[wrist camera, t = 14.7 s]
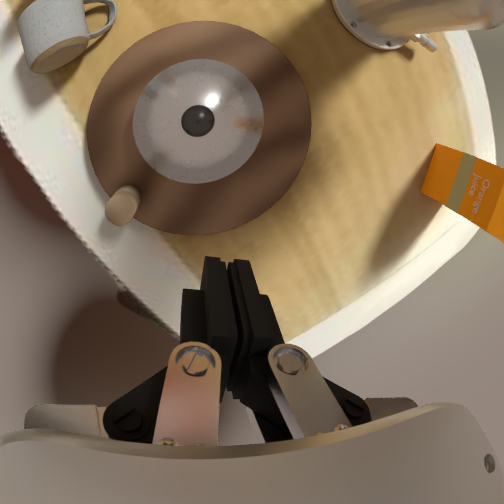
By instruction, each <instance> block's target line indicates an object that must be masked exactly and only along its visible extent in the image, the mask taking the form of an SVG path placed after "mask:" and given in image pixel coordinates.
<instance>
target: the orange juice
mask: <svg viewBox="0 0 504 504" xmlns="http://www.w3.org/2000/svg"><path fill="white" fill-rule="evenodd" d="M420 192H422V193H423V194H425V195H427V196H429V197H431V198H433V199H434V200H436V201H438V202H440V203H441V204H443V205H445V206H446V207H448V208H450V209H451V210H453V211H455V212H456V213H458V214H460V215H462V216H463V217H465V218H466V219H467V220H470V221H471V222H473V223H474V224H476V225H477V226H479V227H480V228H482V229H483V230H485V231H486V232H488V233H490V234H491V235H493V236H495V237H496V238H498V239H499V240H501V241H502V242H503V243H504V169H503V168H500V167H498V166H496V165H494V164H491V163H489V162H487V161H484V160H482V159H479V158H477V157H475V156H472V155H470V154H467V153H464V152H461V151H458V150H455V149H452V148H449V147H446V146H443V145H440V144H437V143H436V146H435V150H434V153H433V156H432V159H431V162H430V165H429V168H428V171H427V174H426V177H425V180H424V182H423V185H422V188H421V191H420Z"/></svg>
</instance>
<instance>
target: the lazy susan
mask: <svg viewBox="0 0 504 504" xmlns="http://www.w3.org/2000/svg"><path fill="white" fill-rule="evenodd" d="M193 59H209V60H216V61H219V62H223V63H225V64H228V65H230V66H232V67H234V68H236V69H237V70H239V71H240V72H241V73H243V74H244V75H245V76H246V77H247V78H248V79H249V80H250V81H251V83H252V84H253V85H254V87H255V88H256V90H257V92H258V94H259V97H260V99H261V102H262V107H263V114H264V123H263V130H262V135H261V138H260V140H259V143H258V145H257V147H256V149H255V151H254V152H253V154H252V155H251V156H250V158H249V159H248V160H247V161H246V162H245V163H244V164H243V165H242V166H241V167H240V168H239V169H237V170H236V171H234V172H233V173H231V174H229V175H228V176H226V177H224V178H221V179H219V180H216V181H212V182H207V183H197V184H191V183H183V182H178V181H175V180H172V179H169V178H167V177H165V176H163V175H161V174H160V173H158V172H157V171H156V170H154V169H153V168H152V167H151V166H150V165H149V164H148V163H147V162H146V161H145V159H144V158H143V156H142V155H141V153H140V152H139V149H138V147H137V145H136V142H135V138H134V133H133V116H134V110H135V107H136V103H137V101H138V99H139V97H140V95H141V93H142V91H143V90H144V88H145V87H146V86H147V84H148V83H149V82H150V81H151V80H152V79H153V78H154V77H155V76H156V75H157V74H159V73H160V72H161V71H163V70H165V69H166V68H168V67H170V66H172V65H174V64H177V63H179V62H183V61H187V60H193ZM310 136H311V111H310V105H309V100H308V96H307V93H306V90H305V87H304V85H303V82H302V80H301V78H300V76H299V74H298V73H297V71H296V69H295V68H294V66H293V65H292V64H291V62H290V61H289V60H288V58H287V57H286V56H285V55H284V54H283V53H282V52H281V51H280V50H279V49H278V48H277V47H275V46H274V45H273V44H272V43H270V42H269V41H268V40H266V39H265V38H263V37H261V36H259V35H258V34H256V33H254V32H252V31H250V30H247V29H245V28H242V27H240V26H236V25H232V24H228V23H223V22H214V21H193V22H186V23H180V24H176V25H172V26H169V27H166V28H162V29H160V30H158V31H156V32H153V33H151V34H149V35H147V36H146V37H144V38H142V39H141V40H139V41H137V42H136V43H134V44H133V45H132V46H131V47H129V48H128V49H127V50H126V51H125V52H123V53H122V54H121V55H120V56H119V57H118V59H117V60H116V61H115V62H114V63H113V64H112V65H111V67H110V68H109V69H108V71H107V72H106V74H105V75H104V77H103V78H102V80H101V82H100V84H99V86H98V88H97V90H96V92H95V95H94V97H93V100H92V103H91V107H90V112H89V116H88V125H87V141H88V150H89V155H90V159H91V163H92V165H93V168H94V171H95V174H96V176H97V178H98V179H99V181H100V183H101V185H102V187H103V188H104V190H105V191H106V192H107V194H108V195H109V196H110V199H109V201H108V202H107V204H106V206H105V214H106V217H107V218H108V220H109V221H110V222H111V223H113V224H115V225H119V226H121V225H126V224H128V223H129V222H130V221H131V220H132V218H135V219H136V220H138V221H140V222H141V223H143V224H146V225H148V226H150V227H153V228H155V229H158V230H162V231H165V232H169V233H175V234H180V235H207V234H213V233H219V232H223V231H227V230H230V229H233V228H236V227H238V226H241V225H243V224H245V223H248V222H249V221H251V220H253V219H255V218H256V217H258V216H260V215H261V214H262V213H264V212H265V211H266V210H268V209H269V208H271V207H272V206H273V205H274V204H275V203H276V202H277V201H278V200H279V199H280V198H281V197H282V196H283V195H284V193H285V192H286V191H287V190H288V189H289V188H290V186H291V185H292V183H293V181H294V180H295V178H296V177H297V175H298V173H299V171H300V169H301V167H302V165H303V163H304V160H305V157H306V154H307V151H308V146H309V142H310Z"/></svg>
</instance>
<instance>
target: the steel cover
mask: <svg viewBox="0 0 504 504" xmlns="http://www.w3.org/2000/svg"><path fill="white" fill-rule="evenodd" d="M263 123H264V114H263V107H262V102H261V99H260V97H259V94H258V92H257V90H256V88H255V87H254V85H253V84H252V83H251V81H250V80H249V79H248V78H247V77H246V76H245V75H244V74H243V73H241V72H240V71H239V70H237V69H236V68H234V67H232V66H230V65H228V64H225V63H223V62H219V61H216V60H209V59H193V60H187V61H183V62H179V63H177V64H174V65H172V66H170V67H168V68H166V69H165V70H163V71H161V72H160V73H159V74H157V75H156V76H155V77H154V78H153V79H152V80H151V81H150V82H149V83H148V84H147V86H146V87H145V88H144V90H143V91H142V93H141V95H140V97H139V99H138V101H137V103H136V107H135V110H134V116H133V133H134V138H135V142H136V145H137V147H138V149H139V152H140V153H141V155H142V156H143V158H144V159H145V161H146V162H147V163H148V164H149V165H150V166H151V167H152V168H153V169H154V170H156V171H157V172H158V173H160V174H161V175H163V176H165V177H167V178H169V179H172V180H175V181H178V182H183V183H191V184H197V183H207V182H212V181H216V180H219V179H221V178H224V177H226V176H228V175H229V174H231V173H233V172H234V171H236V170H237V169H239V168H240V167H241V166H242V165H243V164H244V163H245V162H246V161H247V160H248V159H249V158H250V156H251V155H252V154H253V152H254V151H255V149H256V147H257V145H258V143H259V140H260V138H261V135H262V130H263Z"/></svg>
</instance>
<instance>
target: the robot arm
mask: <svg viewBox="0 0 504 504" xmlns="http://www.w3.org/2000/svg"><path fill="white" fill-rule="evenodd" d="M332 5H333V7H334V10H335V12H336V14H337V16H338V18H339V20H340V21H341V22H342V24H343V25H344V26H345V27H346V28H347V29H348V31H349V32H350V33H351V34H353V35H354V36H355V37H356V38H357V39H359V40H360V41H362V42H363V43H365V44H367V45H369V46H371V47H374V48H377V49H382V50H390V49H396V48H400V47H401V46H403V45H404V44H405V43H406V42H407V41H408V40H409V39H411V40H413V41H414V42H419V43H420V44H421V45H422V46H423V47H425V48H426V49H427V50H429V51H430V52H434V51H435V50H436V49H437V44H436V43H435V42H434V41H433V40H432V39H430V38H429V37H428V36H426V35H425V34H424V33H432V32H442V31H457V30H490V29H495V28H497V27H499V26H500V25H502V24H503V23H504V0H332ZM225 388H227V391H232V395H233V399H240V402H241V403H243V404H244V405H246V410H247V414H248V417H249V419H250V422H251V424H252V427H253V429H254V432H255V434H256V437H257V439H258V442H259V444H249V445H235V446H217V440H218V439H217V437H218V418H219V404H220V403H221V402H222V398H223V395H224V391H225ZM0 504H504V473H503V470H502V468H501V465H500V463H499V461H498V459H497V456H496V454H495V452H494V450H493V448H492V446H491V444H490V442H489V440H488V438H487V436H486V434H485V432H484V431H483V429H482V427H481V426H480V424H479V422H478V421H477V419H476V418H475V417H474V415H473V414H472V413H471V411H470V410H469V409H468V408H466V407H464V406H463V405H460V404H457V403H448V402H437V403H430V404H425V405H421V406H417V404H416V403H415V402H414V401H413V400H412V399H410V398H406V397H396V398H366V399H365V400H363V399H362V398H360V397H359V396H357V395H355V394H353V393H351V392H349V391H348V390H346V389H344V388H342V387H340V386H338V385H336V384H335V383H333V382H331V381H329V380H328V379H326V378H324V377H322V375H321V373H320V372H319V370H318V368H317V367H316V365H315V363H314V362H313V360H312V358H311V357H310V355H309V354H308V353H307V352H306V351H305V350H303V349H302V348H300V347H298V346H296V345H292V344H285V343H284V340H283V337H282V334H281V331H280V328H279V325H278V323H277V320H276V317H275V314H274V311H273V308H272V305H271V302H270V300H269V297H268V296H267V295H263V294H260V293H259V290H258V287H257V284H256V280H255V277H254V274H253V271H252V268H251V264H250V262H249V260H239V259H234V261H233V263H231V262H229V263H228V267H227V270H226V264H225V262H221V261H220V258H219V257H209V256H205V260H204V266H203V273H202V280H201V287H200V290H194V289H183V293H182V305H181V324H180V345H178V346H177V347H176V348H175V349H174V350H173V351H172V353H171V355H170V359H169V364H168V366H167V367H165V368H164V369H162V370H161V371H159V372H158V373H156V374H155V375H154V376H152V377H151V378H149V379H148V380H146V381H145V382H143V383H142V384H140V385H139V386H137V387H136V388H134V389H133V390H131V391H130V392H128V393H127V394H125V395H124V396H122V397H120V398H119V399H117V400H116V401H114V402H113V403H112V404H111V405H109V406H108V407H96V405H52V404H50V405H49V404H38V405H34V406H32V407H31V408H30V409H29V410H28V411H27V413H26V415H25V419H24V429H20V430H14V431H10V432H6V433H3V434H1V435H0Z"/></svg>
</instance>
